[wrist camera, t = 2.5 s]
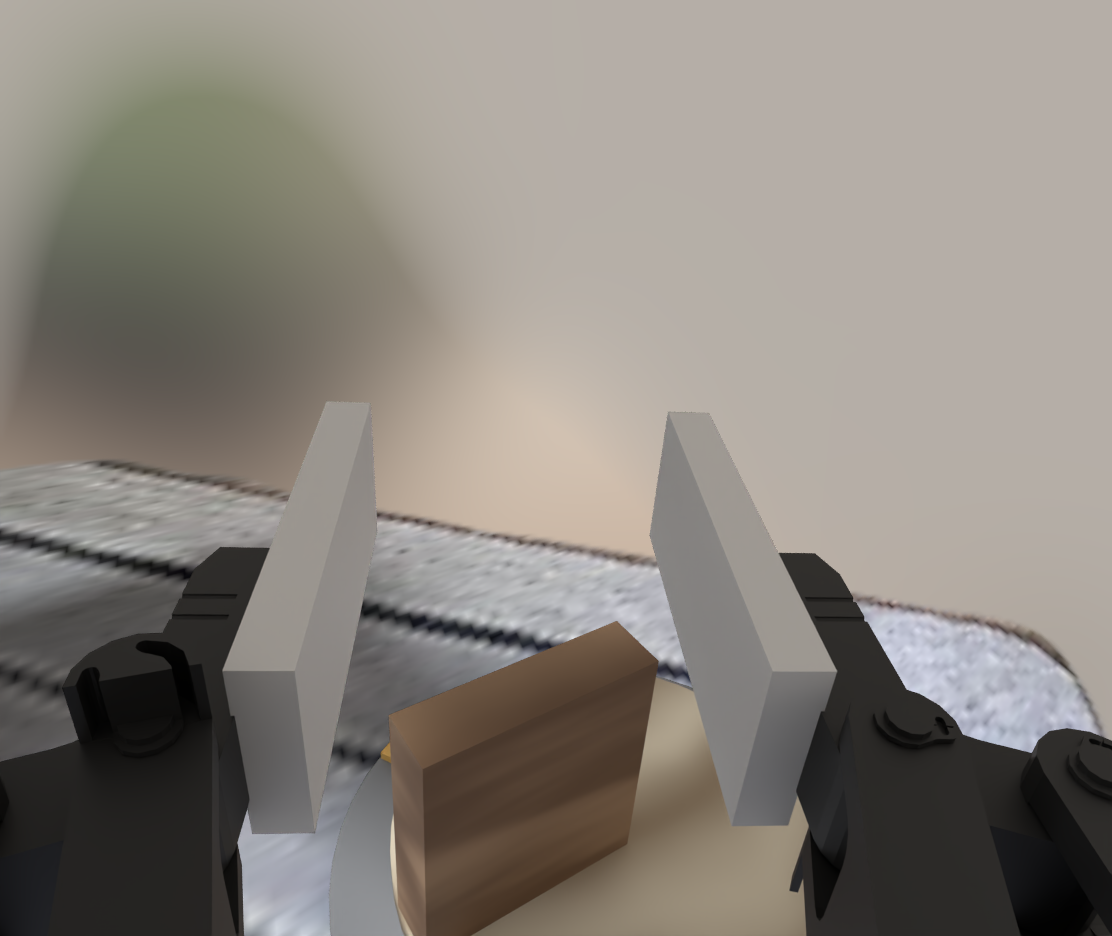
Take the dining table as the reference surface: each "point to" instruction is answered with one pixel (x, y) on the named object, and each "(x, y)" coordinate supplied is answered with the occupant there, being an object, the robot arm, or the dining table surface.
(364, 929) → the base
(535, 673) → the dial
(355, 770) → the dining table surface
